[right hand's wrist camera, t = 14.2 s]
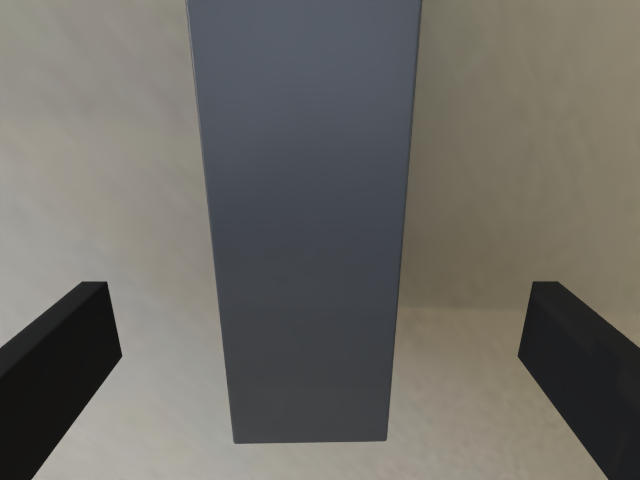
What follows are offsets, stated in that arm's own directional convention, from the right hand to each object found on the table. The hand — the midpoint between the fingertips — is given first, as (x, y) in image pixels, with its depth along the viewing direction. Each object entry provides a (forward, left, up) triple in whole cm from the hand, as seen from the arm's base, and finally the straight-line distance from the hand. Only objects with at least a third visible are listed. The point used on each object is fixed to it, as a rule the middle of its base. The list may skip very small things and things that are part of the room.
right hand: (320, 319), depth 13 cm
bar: (+7, -3, -8) cm, 11 cm away
